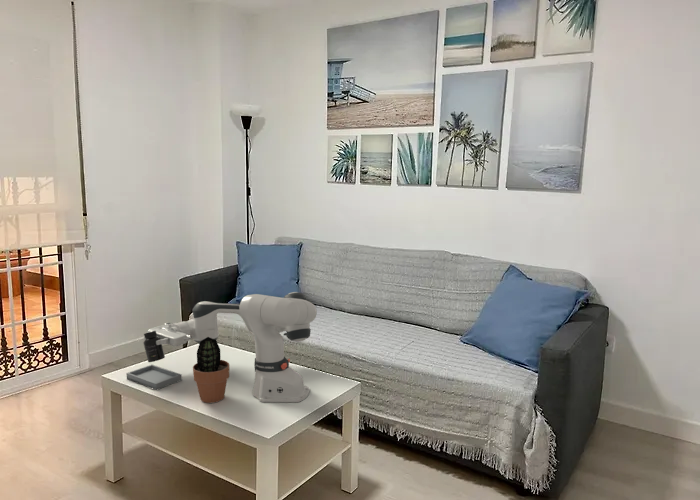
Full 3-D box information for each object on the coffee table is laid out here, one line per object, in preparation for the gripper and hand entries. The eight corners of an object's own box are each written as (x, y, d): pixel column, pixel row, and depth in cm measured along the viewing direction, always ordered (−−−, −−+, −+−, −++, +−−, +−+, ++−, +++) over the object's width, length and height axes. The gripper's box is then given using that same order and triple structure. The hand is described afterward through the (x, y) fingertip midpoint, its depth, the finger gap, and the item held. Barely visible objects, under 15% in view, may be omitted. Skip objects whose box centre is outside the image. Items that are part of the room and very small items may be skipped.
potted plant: (237, 395, 210) (236, 333, 206) (213, 408, 198) (211, 343, 194) (211, 388, 216) (208, 328, 212) (186, 401, 204) (183, 337, 201)
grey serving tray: (181, 380, 224) (181, 374, 224) (156, 390, 214) (156, 384, 214) (152, 369, 236) (152, 364, 235) (126, 378, 226) (126, 373, 225)
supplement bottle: (150, 361, 225) (143, 333, 225) (166, 357, 226) (160, 329, 226) (146, 363, 218) (139, 334, 219) (163, 359, 219) (156, 330, 220)
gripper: (194, 344, 227) (165, 353, 216) (165, 335, 239) (136, 343, 228) (193, 330, 226) (165, 338, 215) (164, 322, 238) (136, 329, 227)
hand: (150, 341), depth 222 cm, fingers closed on supplement bottle, 6 cm apart
